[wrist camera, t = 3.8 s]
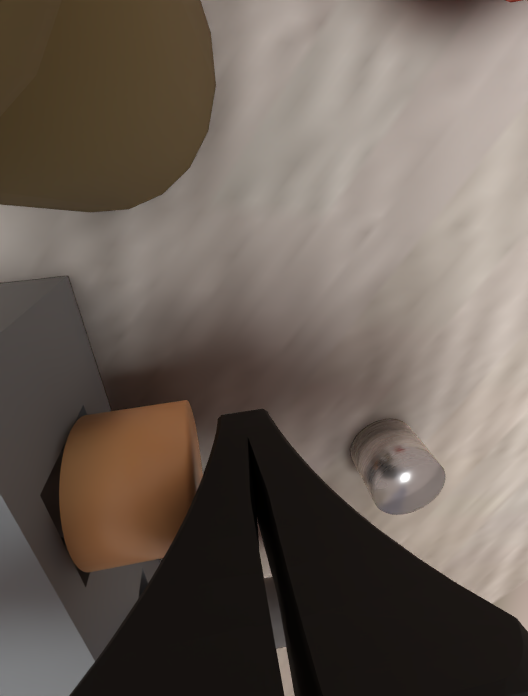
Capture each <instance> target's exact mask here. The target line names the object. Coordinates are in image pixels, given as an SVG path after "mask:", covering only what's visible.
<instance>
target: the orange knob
mask: <svg viewBox="0 0 528 696" xmlns="http://www.w3.org/2000/svg"><path fill="white" fill-rule="evenodd" d="M202 477H203V474H202V464H201V456H200V449H199V442H198V436H197V430H196V425H195V420H194V416H193V412H192V409H191V406H190V403H189V402H188V400H183V401H176V402H170V403H163V404H156V405H150V406H143V407H136V408H130V409H123V410H116V411H110V412H103V413H96V414H90V415H84V416H82V417H80V418H79V419H78V420H77V421H76V423H75V424H74V425H73V427H72V429H71V431H70V433H69V436H68V438H67V441H66V444H65V448H64V451H61V452H60V454H59V456H58V459H57V461H56V463H55V465H54V467H53V469H52V471H51V473H50V475H49V477H48V479H47V481H46V484H45V486H44V488H43V490H42V492H41V494H40V496H41V499H42V501H43V503H44V505H45V507H46V509H47V511H48V513H49V515H50V517H51V519H52V521H53V523H54V525H55V527H56V529H57V531H58V533H59V535H60V537H61V539H62V538H64V540H65V543H66V546H67V549H68V552H69V554H70V556H71V558H72V560H73V562H74V563H75V565H76V566H77V567H78V568H79V569H80V570H82V571H83V572H94V571H99V570H104V569H110V568H115V567H120V566H125V565H130V564H135V563H140V562H145V561H150V560H155V559H161V558H164V556H165V554H166V552H167V551H168V549H169V547H170V545H171V543H172V542H173V540H174V538H175V536H176V534H177V532H178V530H179V528H180V526H181V524H182V522H183V520H184V518H185V516H186V514H187V512H188V510H189V508H190V505H191V503H192V501H193V498H194V496H195V494H196V491H197V489H198V486H199V484H200V482H201V479H202Z"/></svg>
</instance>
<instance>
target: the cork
mask: <svg viewBox="0 0 528 696" xmlns="http://www.w3.org/2000/svg"><path fill="white" fill-rule="evenodd" d="M215 87H216V82H215V72H214V62H213V51H212V41H211V32H210V29H209V26H208V23H207V20H206V17H205V14H204V11H203V7H202V4H201V1H200V0H0V204H2V205H13V206H25V207H36V208H48V209H59V210H71V211H82V212H99V211H111V210H124V209H130V208H132V207H135V206H137V205H139V204H141V203H144V202H146V201H148V200H150V199H153V198H155V197H157V196H159V195H162V194H163V193H164V192H165V191H166V190H167V189H168V188H169V187H170V186H171V185H172V184H173V183H174V182H175V181H176V180H178V179H179V178H180V177H181V176H182V175H183V174H184V173H185V172H186V171H187V170H188V169H189V168H190V166H191V164H192V162H193V160H194V158H195V156H196V154H197V152H198V150H199V148H200V146H201V144H202V142H203V140H204V138H205V136H206V134H207V132H208V129H209V123H210V117H211V111H212V105H213V99H214V93H215Z"/></svg>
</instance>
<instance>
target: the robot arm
mask: <svg viewBox="0 0 528 696" xmlns="http://www.w3.org/2000/svg"><path fill="white" fill-rule="evenodd" d="M257 519H258V523H259V527H260V531H261V535H262V538H263V542H264V546H265V550H266V554H267V558H268V561H269V565H270V569H271V573H272V577H273V581H274V585H275V589H276V593H277V598H278V603H279V608H280V613H281V619H282V625H283V630H284V636H285V642H286V648H287V653H288V659H289V665H290V671H291V677H292V682H293V688H294V694H295V696H528V631H527V630H526V629H525V628H524V627H523V626H522V625H521V623H520V622H519V621H518V619H516V618H515V617H514V616H512V615H510V614H508V613H507V612H505V611H503V610H502V609H500V608H498V607H496V606H495V605H493V604H491V603H490V602H488V601H486V600H484V599H483V598H481V597H479V596H477V595H476V594H474V593H472V592H471V591H469V590H467V589H465V588H464V587H462V586H460V585H459V584H457V583H456V582H454V581H452V580H451V579H449V578H448V577H446V576H445V575H443V574H442V573H440V572H438V571H437V570H435V569H434V568H432V567H431V566H429V565H428V564H426V563H425V562H423V561H422V560H420V559H419V558H417V557H416V556H415V555H413V554H412V553H410V552H409V551H408V550H406V549H405V548H404V547H402V546H401V545H399V544H398V543H397V542H395V541H394V540H393V539H391V538H390V537H388V536H387V535H386V534H384V533H383V532H382V531H380V530H379V529H378V528H376V527H375V526H374V525H372V524H371V523H370V522H369V521H368V520H366V519H365V518H364V517H363V516H361V515H360V514H359V513H358V512H357V511H355V510H354V509H353V508H352V507H351V506H350V505H349V504H347V503H346V502H345V501H344V500H343V499H342V498H341V497H340V496H338V495H337V494H336V493H335V492H334V491H333V490H332V489H331V488H330V487H329V486H328V485H327V484H326V483H325V482H324V481H323V480H322V479H321V478H320V477H319V476H318V475H317V474H316V473H315V472H314V471H313V470H312V469H311V468H310V467H309V465H308V464H307V463H306V462H305V461H304V460H303V459H302V458H301V456H300V455H299V454H298V453H297V452H296V451H295V449H294V448H293V447H292V446H291V445H290V443H289V442H288V441H287V440H286V438H285V437H284V436H283V434H282V433H281V432H280V430H279V429H278V427H277V426H276V425H275V423H274V422H273V420H272V418H271V417H270V415H269V413H268V412H267V411H266V410H265V409H258V410H251V411H245V412H238V413H232V414H225V415H221V416H220V417H219V418H218V424H217V431H216V435H215V440H214V443H213V447H212V450H211V454H210V457H209V459H208V462H207V465H206V468H205V471H204V474H203V477H202V479H201V482H200V484H199V486H198V489H197V491H196V494H195V496H194V498H193V501H192V503H191V505H190V508H189V510H188V512H187V514H186V516H185V518H184V520H183V522H182V524H181V526H180V528H179V530H178V532H177V534H176V536H175V538H174V540H173V542H172V543H171V545H170V547H169V549H168V551H167V552H166V554H165V556H164V558H163V559H162V561H161V563H160V564H159V566H158V568H157V570H156V571H155V573H154V575H153V576H152V578H151V580H150V581H149V583H148V585H147V586H146V588H145V589H144V591H143V593H142V594H141V596H140V597H139V599H138V600H137V602H136V603H135V605H134V606H133V608H132V609H131V610H130V612H129V613H128V615H127V616H126V618H125V619H124V621H123V622H122V624H121V625H120V627H119V628H118V630H117V631H116V633H115V634H114V636H113V637H112V639H111V640H110V642H109V643H108V644H107V646H106V647H105V649H104V650H103V651H102V653H101V654H100V656H99V657H98V658H97V660H96V661H95V662H94V664H93V665H92V666H91V667H90V669H89V670H88V671H87V673H86V674H85V675H84V677H83V678H82V679H81V681H80V682H79V683H78V685H77V686H76V687H75V689H74V690H73V691H72V692H71V694H70V695H69V696H284V691H283V686H282V680H281V674H280V669H279V663H278V657H277V652H276V646H275V640H274V635H273V629H272V623H271V617H270V612H269V606H268V600H267V594H266V588H265V583H264V577H263V571H262V565H261V559H260V553H259V540H258V526H257Z"/></svg>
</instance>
